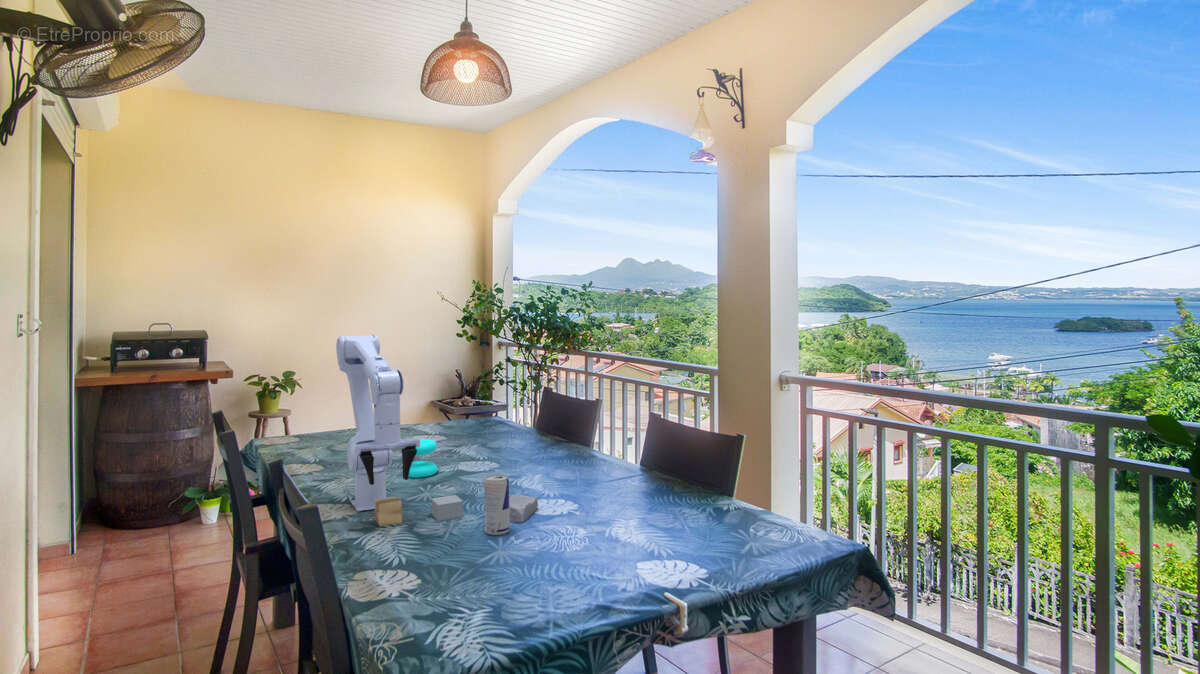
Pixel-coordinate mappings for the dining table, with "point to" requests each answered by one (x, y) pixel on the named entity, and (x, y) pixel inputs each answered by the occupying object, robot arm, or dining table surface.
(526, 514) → the stone block
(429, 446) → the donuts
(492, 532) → the energy drink
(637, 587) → the dining table surface
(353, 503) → the robot arm
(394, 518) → the wooden cube
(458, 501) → the grey block
